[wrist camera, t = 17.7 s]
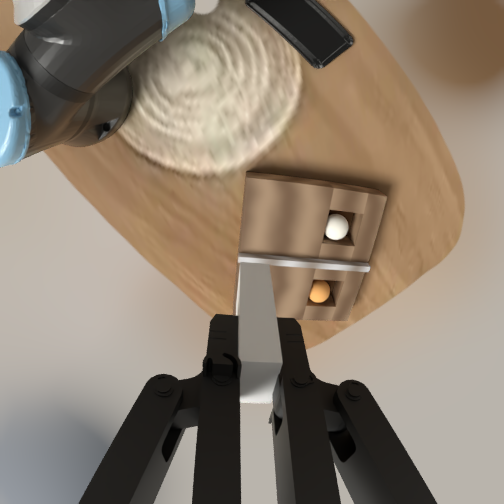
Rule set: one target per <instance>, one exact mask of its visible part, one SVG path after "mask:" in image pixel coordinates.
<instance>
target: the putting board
mask: <svg viewBox="0 0 504 504" xmlns="http://www.w3.org/2000/svg"><path fill="white" fill-rule="evenodd" d="M386 200H387V196H386V195H384V194H383V193H382V192H380V191H379V190H377V189H372V188H366V187H360V186H354V185H348V184H342V183H335V182H329V181H322V180H315V179H307V178H300V177H292V176H283V175H275V174H265V173H256V172H246V178H245V188H244V198H243V207H242V217H241V227H240V238H239V248H238V258H237V269H236V280H235V291H234V302H233V315H236V300H237V290H238V280H239V270H240V262H249V263H261V264H269V266H270V273H271V280H272V287H273V294H274V302H275V309H276V316H277V317H282V318H295V319H296V320H324V321H348V318H349V315H350V313H351V310H352V307H353V305H354V302H355V299H356V297H357V294H358V291H359V288H360V285H361V282H362V280H363V277H364V274H365V272H369V270H370V265H369V264H368V262H369V258H370V255H371V252H372V249H373V246H374V242H375V239H376V236H377V232H378V229H379V225H380V222H381V218H382V215H383V211H384V207H385V203H386ZM329 209H330V210H338V211H346V212H353V213H354V215H353V219H352V223H351V227H350V231H349V235H348V237H347V236H344V237H343V238H341V239H339V240H333V239H330V238H329V237H327V236H326V234H324V232H325V228H326V223H327V219H328V214H329ZM313 279H317V280H334V281H335V285H334V288H333V291H332V295H329V297H328V298H327V299H326V300H325V301H323V302H314V301H312V300H311V299H310V298H309V293H310V289H311V286H312V282H313Z"/></svg>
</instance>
